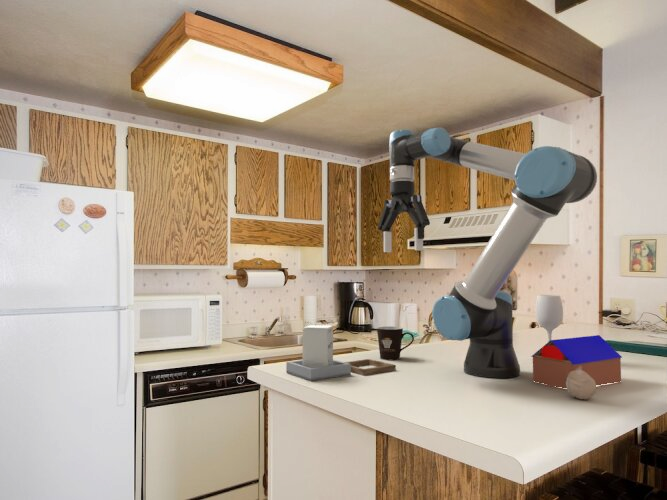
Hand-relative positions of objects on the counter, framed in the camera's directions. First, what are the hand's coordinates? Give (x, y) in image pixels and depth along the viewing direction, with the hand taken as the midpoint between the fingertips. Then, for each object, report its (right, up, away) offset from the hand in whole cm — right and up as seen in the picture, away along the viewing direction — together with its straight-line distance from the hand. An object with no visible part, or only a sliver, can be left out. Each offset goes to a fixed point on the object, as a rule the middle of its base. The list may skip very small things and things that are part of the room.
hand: (402, 251), depth 143 cm
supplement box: (-25, -34, -11) cm, 44 cm away
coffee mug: (-1, -36, +12) cm, 38 cm away
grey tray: (-25, -34, -11) cm, 44 cm away
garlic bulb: (+35, -33, -37) cm, 61 cm away
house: (+42, -34, -21) cm, 58 cm away
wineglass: (+48, -35, +8) cm, 60 cm away
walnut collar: (-11, -35, -5) cm, 37 cm away
